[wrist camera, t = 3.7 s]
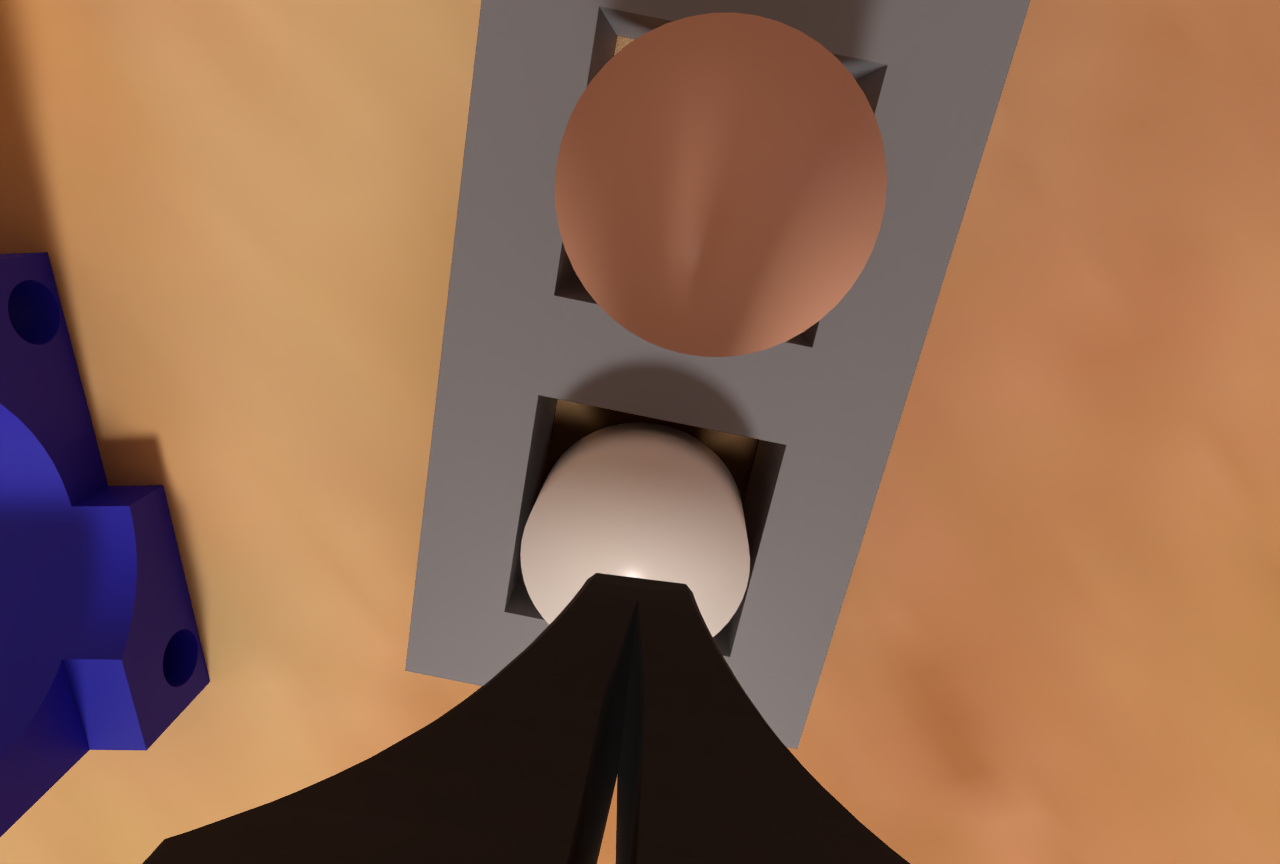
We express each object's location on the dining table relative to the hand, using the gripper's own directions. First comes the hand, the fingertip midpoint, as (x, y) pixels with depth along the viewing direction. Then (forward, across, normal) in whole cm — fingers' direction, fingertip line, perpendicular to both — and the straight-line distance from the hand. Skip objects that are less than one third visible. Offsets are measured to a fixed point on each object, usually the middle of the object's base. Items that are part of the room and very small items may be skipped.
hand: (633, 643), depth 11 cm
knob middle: (+7, 0, -6) cm, 9 cm away
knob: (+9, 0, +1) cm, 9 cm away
